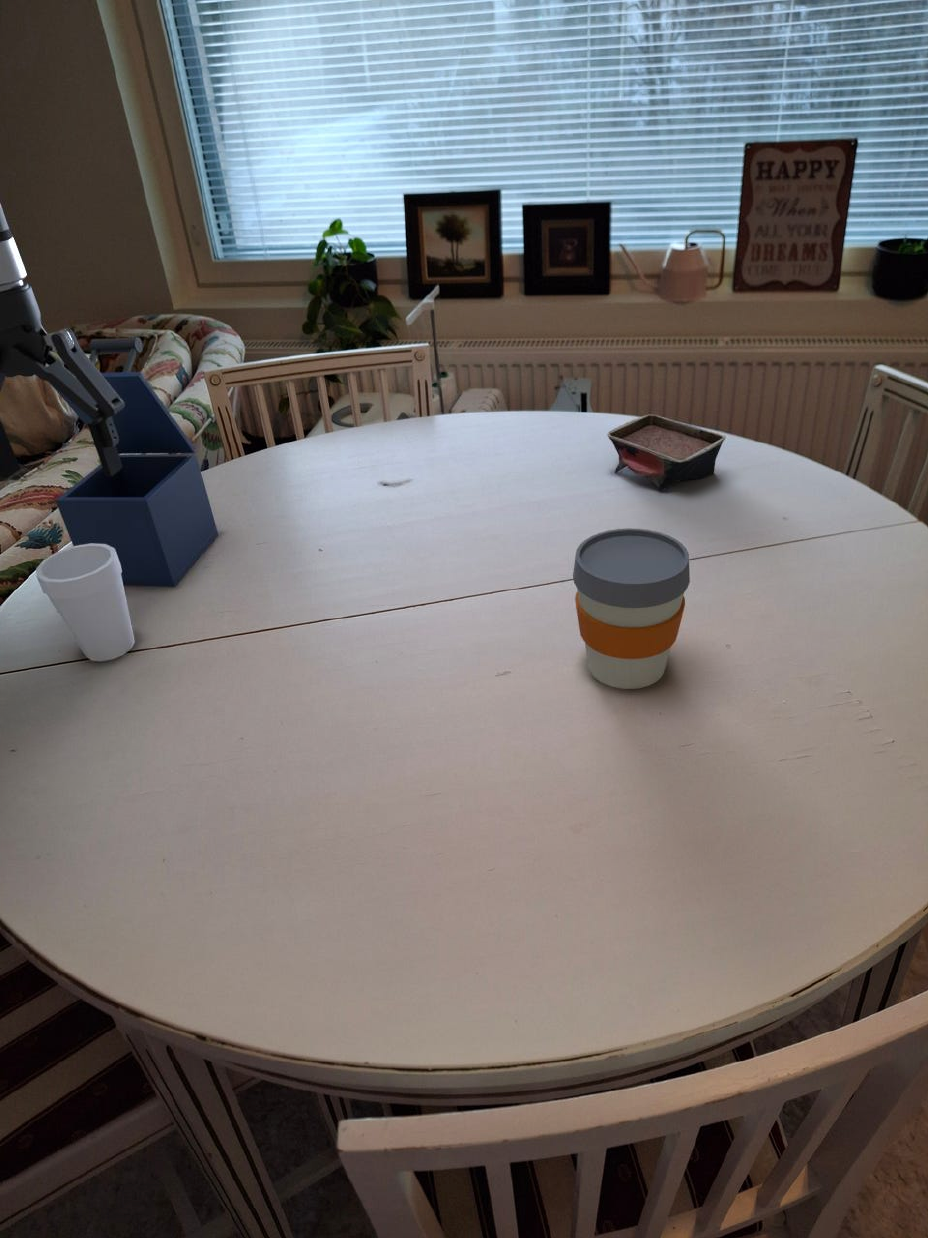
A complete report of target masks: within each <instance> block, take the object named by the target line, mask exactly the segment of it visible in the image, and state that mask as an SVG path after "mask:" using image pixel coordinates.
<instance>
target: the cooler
mask: <svg viewBox="0 0 928 1238" xmlns="http://www.w3.org/2000/svg"><path fill="white" fill-rule="evenodd" d="M118 455H119V457H120V460H121V463H122V466H123V467H122V468H121V469H120V470H119V471H118V472H117V473H115V474H114V475H113V476H112V477H106V475H105V473H104V470H103V467H102V464H101V463H100V464H99V465H98V466H97V467H96V468H94V469H93V470H92V471H91V472H89V473H88V474H86V475H85V476H84V477H83V478H82V479H80V480H79V481H78V482H77V483H75V484H74V485H73V486H71V487H70V488H69V489H67V490H66V491H65V492H63V493H62V494H61V495H60V496H59V497H58V498H56V499H55V500H54V501H55V504H56V507H57V509H58V511H59V514H60V516H61V519H62V521H63V524H64V527H65V529H66V531H67V534H68V535H69V536H68V537H69V539H70V541H71V543H72V547H73V546H78V545H84V544H90V543H95V544H106V545H109V546H111V547H113V548H115V551H116V554H117V556H118V559H119V562H120V565H121V569H122V572H121V577H122V582H123V586H128V587H129V586H131V587H132V586H136V587H176V586H177V584H178V583H179V582H180V581H181V580H182V579H183V577H184V576H185V575H186V574H187V573H188V571H189V570H190V569H191V568H192V567H193V565H194V564H195V563H196V562H197V561H198V559H199V558H200V557H201V556H202V555H203V554H204V552H205V551H206V550H207V549H208V547H210V545H211V544H212V543H213V541H214V540H215V539H216V538H217V537H218V535H219V532H218V529H217V523H216V521H215V518H214V514H213V511H212V507H211V503H210V500H209V496H208V493H207V489H206V485H205V482H204V478H203V475H202V471H201V466H200V463H199V460H198V457H197V453H143V454H118Z"/></svg>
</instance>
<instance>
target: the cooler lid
mask: <svg viewBox="0 0 928 1238" xmlns="http://www.w3.org/2000/svg"><path fill="white" fill-rule="evenodd" d="M89 348H90V355H89V357H88V358H89V359H90V361H91V362H92V363H93V364H94V366H96V365H95V364H96V362H97V359H98V357H99V355H110V354H111V355H112V354H113V355H114V354H128V356H127V359H126V361H125V363H124V366H123V370H122V371H121V372H100V373H101V374H102V376H103V377H104V378H105V379H106V381H107V382H108V383H109V384H110V385H111V387H112V388H113V389H114V390H115V392H116V393H117V394H118V395H119V397H120V398H121V399H122V400H123V402H124V404H125V407H124V408H123V409H122V410H120V411H119V412H118V413H116V414H115V415H113V416H112V419H113V422H114V425H115V428H116V431H117V434H118V437H119V443H117V444H116V445H115V446H116V449H117V452H118V455H140V454H196V451H197V449H196V447H195V446H194V445H193V443H192V442H191V440H190V439H189V438H188V436H187V434H186V433H185V432H184V430H183V429H182V428H181V426H180V425H179V424H178V422H177V421H176V419H175V418H174V417H173V415H172V414H171V412H170V411H169V410H168V408H167V407H166V406H165V404H164V403H163V401H162V400H161V398H160V397H159V396H158V394H157V393H156V391H155V390H154V389H153V387H152V386H151V385H150V383H149V382H148V380H147V379H146V378H145V376H144V375H143V373H142V372H141V371H132V368H133V365H134V363H135V360H136V357H137V354H140V353H142V352H143V349H144V345H143V341H142V339H141V338H140V337H123V338H119V337H117V338H95V339H91V340H90V341H89ZM50 386H51V387H52V388H53V389H54V390H55V391H56V393H57V394H58V395H59V396H60V397H61V398H62V399H63V400H64V402H65V403H66V404H67V405H68V406H69V407H70V409H72V411H73V412H74V413H75V414H76V416H78V418H79V419H80V420H81V421H82V422H83V424H85V425H86V427H87V428H88V429H89V427H88V425H87V424H88V423H89V422H90V421H92V420H93V419H91V418H90V417H89V416H88V415H87V414H85V413H84V412H83V411H82V410H81V409H80V408H78V407H77V406H76V405H75V404H74V403H72V402H71V401H70V400H69V399H68V398H67V397H65V396H64V395H63V394H62V393H61V392H60V391H58V390H57V389H56V388H55V387H54V386H52V385H51V384H50Z"/></svg>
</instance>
